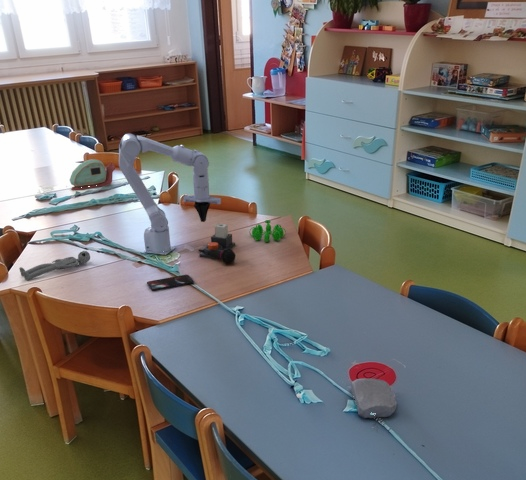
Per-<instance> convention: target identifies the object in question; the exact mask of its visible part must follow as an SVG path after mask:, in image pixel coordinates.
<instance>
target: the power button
mask: <svg viewBox="0 0 526 480" xmlns="http://www.w3.org/2000/svg"><path fill="white" fill-rule="evenodd" d="M207 245H208V249H214V250H215V249H218V243H216V242H211V241H210V242H208V243H207Z"/></svg>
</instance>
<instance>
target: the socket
mask: <svg viewBox="0 0 526 480" xmlns="http://www.w3.org/2000/svg"><path fill="white" fill-rule="evenodd" d="M211 242H216V243H218V245H221V246H222V248H228V247H229V246H230V245H231V244H232V242H233V233H228V236H227V237H226V238H219V237H215V233H214V234H213V235H212V236H211V237H210V243H211Z"/></svg>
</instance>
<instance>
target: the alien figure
mask: <svg viewBox="0 0 526 480" xmlns="http://www.w3.org/2000/svg"><path fill="white" fill-rule="evenodd" d="M90 260H91V254H90V253H89V251H87V250H83V251H80V252H79V253H78V255H77V258H76V257H74V256H67V257H64V258H58V259H57V258H56V259H55V260H53V261H51V262H49V263H42V264H39V265H35V266H33V267H31V268H29V269H25V268H23V267H21V266H19V272H20V276H21V277H23V278H24V281H31V280H33V279H35V278H38V277H40V276H42V275H45V274H48V273H51V272H53V271H59V270H60V271H61V270H67V269H70V268H75V267H79V266H84V265H85V264H87V263H88V262H90Z"/></svg>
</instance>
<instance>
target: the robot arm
mask: <svg viewBox="0 0 526 480" xmlns="http://www.w3.org/2000/svg"><path fill="white" fill-rule="evenodd" d="M147 152H154V153H157V154H161V155H164V156H167V157H170V158H171V159H172V161H173V162H174V163H177V164H181V165H184V166H187V167H192V183H193V195H184V196H183V203H194V204H193V207H194V208H195V210H196V212H197V214H198V216H199V221H200V223H205V222H206V221H207V215H208V211H209V208H210V207H211V205H213V204H214V205H221V204H222V198H221V197H215V196H210V182H209V171H208V170H209V169H208V168H209V166H210V161H209V159H208V157H207V156H206V155H205V153H203V152H201V151H200V150H197V149H190V148H187V147H186V146H185V145H184V144H180V145H175V146H173V147H172V146H171V145H167V144H164V143H162V142H159V141H156V140H153V139H151V138H148V137H145V136H141V135H135V134H133V133H125V134H124V135H123V136H122V137H121V140H120V141H119V145H118V168H119V169H120V171H121V173H122V175H123V176H124V178H125V180H126V182H127V183H128V184H129V186H130V188H131V189H132V191H133V192H134V194H135V196H136V198H137V199H138V201H139V202H140V204H141V205H142V207H143V208H144V210H145V212H146V214H147V216H148V219H149V221H150V226H149V227H146V228H145V229H144V232H143V242H144V253H148V254H155V255H160V256H161V255H162V256H167V255H168V254H169V253H171V252H172V251H174V250H175V249H176V247H175V246H171V237H170V227H169V220H168V217H166V216H167V215H166V213H165V211H164V210H163V209H161V208H160V207H159V206H158V204H157V203H156V202H155V199H154V198H153V197H152V195H151V193H150V192H149V190H148V188H147V187H146V185H145V183H144V181H143V180H142V178H141V177H140V175H139V174H138V171H137V170H136V168H135V166H134V164H135V161H136V159H137V157H138V156H139V155H140V153H142V154H144V153H147ZM163 251H164V252H163Z"/></svg>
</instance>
